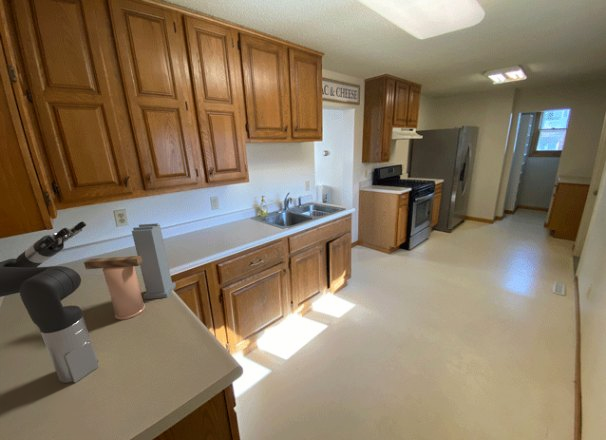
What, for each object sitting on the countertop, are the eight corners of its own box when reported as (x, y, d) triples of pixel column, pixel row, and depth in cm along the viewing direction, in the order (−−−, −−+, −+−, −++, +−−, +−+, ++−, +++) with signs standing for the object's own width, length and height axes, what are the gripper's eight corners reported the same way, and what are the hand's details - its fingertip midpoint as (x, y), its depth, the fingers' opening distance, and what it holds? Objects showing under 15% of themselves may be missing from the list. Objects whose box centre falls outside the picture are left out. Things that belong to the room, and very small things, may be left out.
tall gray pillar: (175, 285, 125) (162, 221, 116) (167, 297, 116) (152, 228, 107) (154, 287, 125) (140, 223, 116) (144, 299, 115) (127, 229, 106)
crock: (150, 307, 109) (140, 262, 103) (125, 322, 99) (111, 274, 94) (135, 301, 113) (124, 258, 107) (109, 316, 104) (95, 269, 98)
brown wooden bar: (142, 262, 102) (141, 255, 102) (138, 265, 100) (136, 258, 99) (91, 265, 102) (89, 258, 101) (85, 269, 99) (83, 262, 98)
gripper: (66, 249, 108) (96, 228, 107) (36, 264, 94) (69, 240, 93) (52, 235, 106) (81, 214, 105) (18, 248, 92) (52, 223, 91)
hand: (76, 226), depth 99 cm, fingers open, 8 cm apart
